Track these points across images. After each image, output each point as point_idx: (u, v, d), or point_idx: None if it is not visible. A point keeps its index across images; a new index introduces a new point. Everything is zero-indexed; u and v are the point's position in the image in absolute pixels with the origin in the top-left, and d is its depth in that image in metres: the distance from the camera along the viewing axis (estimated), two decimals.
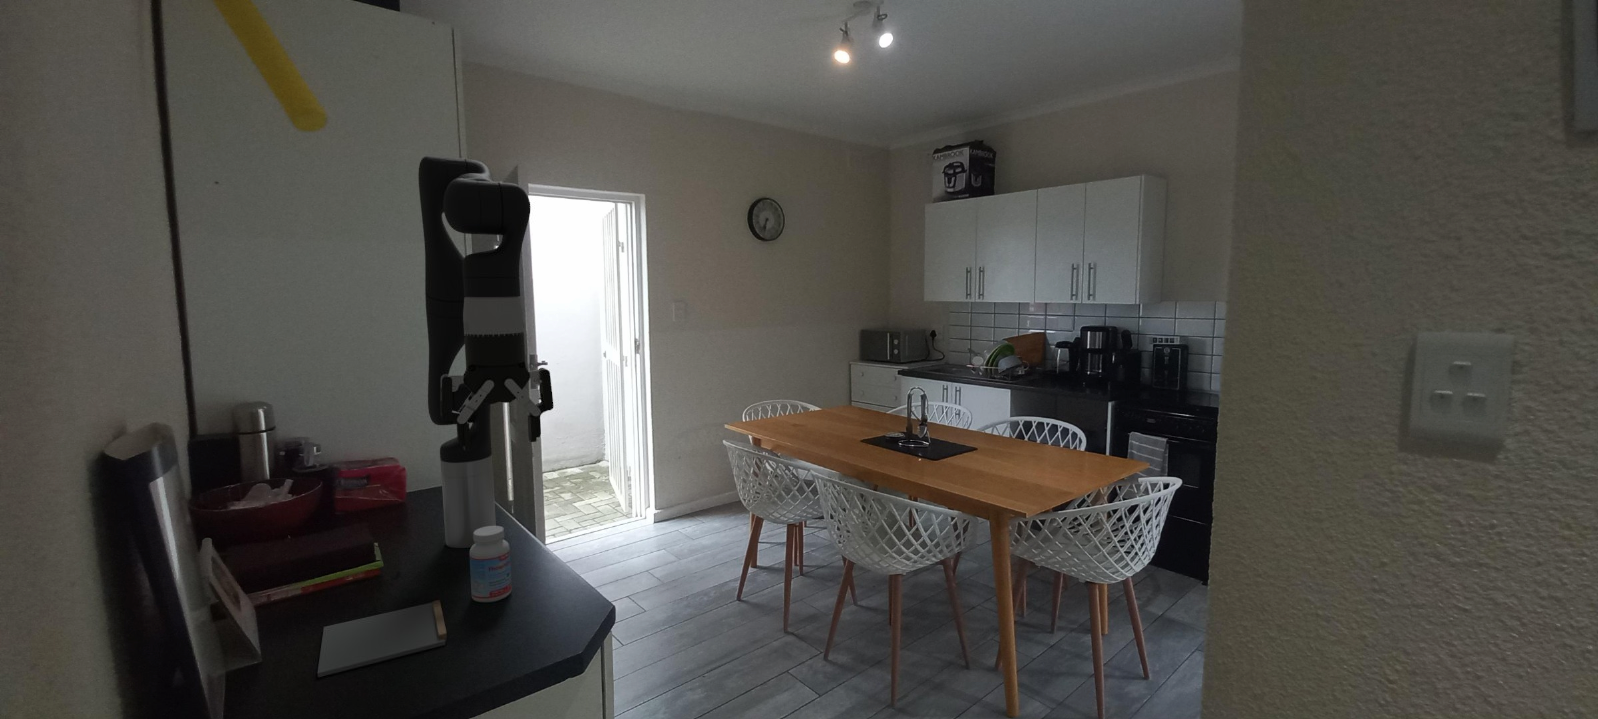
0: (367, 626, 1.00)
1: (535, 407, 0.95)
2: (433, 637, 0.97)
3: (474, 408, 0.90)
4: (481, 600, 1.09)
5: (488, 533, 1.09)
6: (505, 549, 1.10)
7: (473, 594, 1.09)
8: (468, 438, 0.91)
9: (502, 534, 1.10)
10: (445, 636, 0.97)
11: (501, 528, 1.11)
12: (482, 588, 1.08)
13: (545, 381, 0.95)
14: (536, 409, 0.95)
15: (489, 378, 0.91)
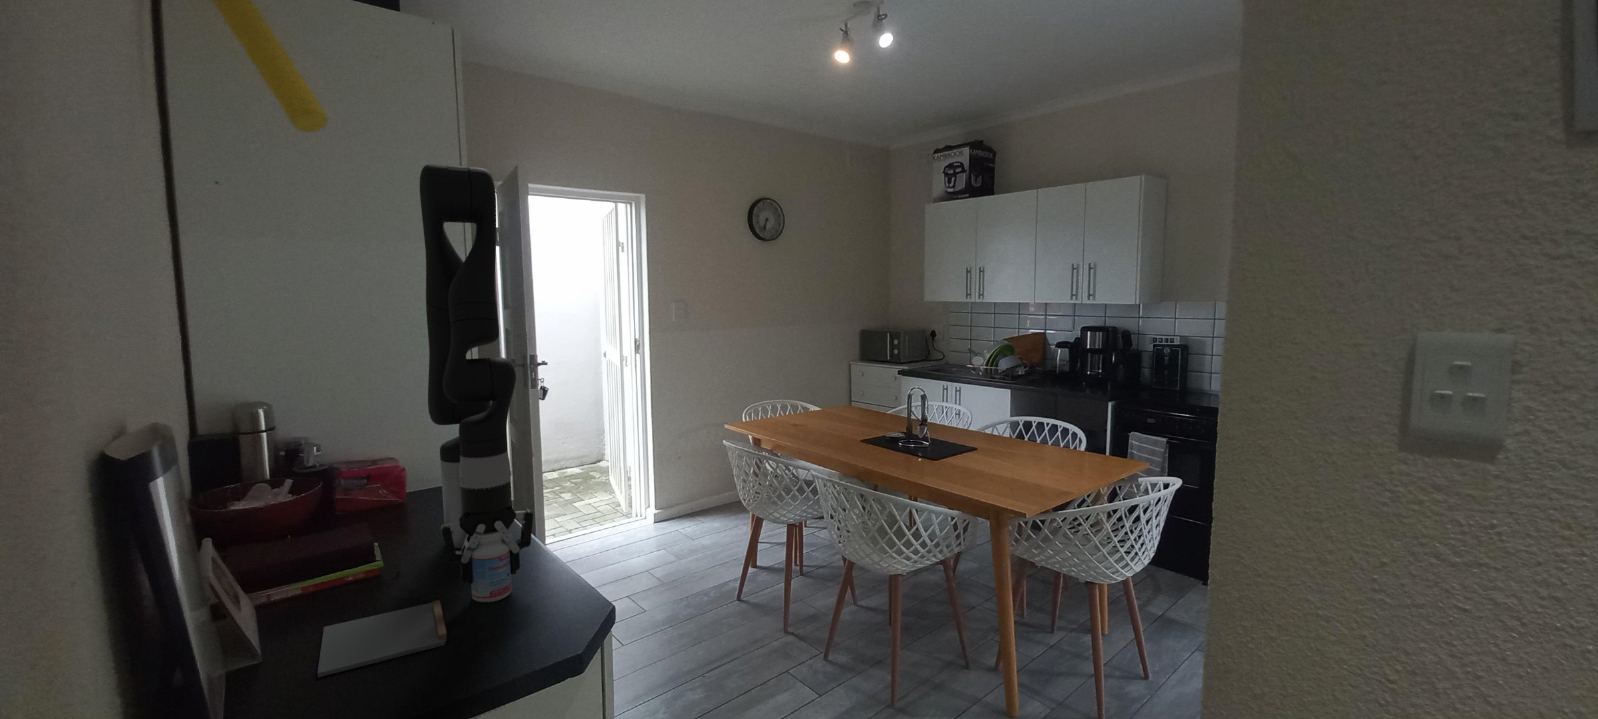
0: (367, 626, 1.00)
1: (515, 545, 1.12)
2: (433, 637, 0.97)
3: (473, 549, 1.08)
4: (481, 600, 1.09)
5: (488, 533, 1.09)
6: (505, 549, 1.10)
7: (473, 594, 1.09)
8: (470, 574, 1.08)
9: None
10: (445, 636, 0.97)
11: None
12: (483, 588, 1.08)
13: (527, 522, 1.12)
14: (515, 547, 1.12)
15: (480, 521, 1.08)
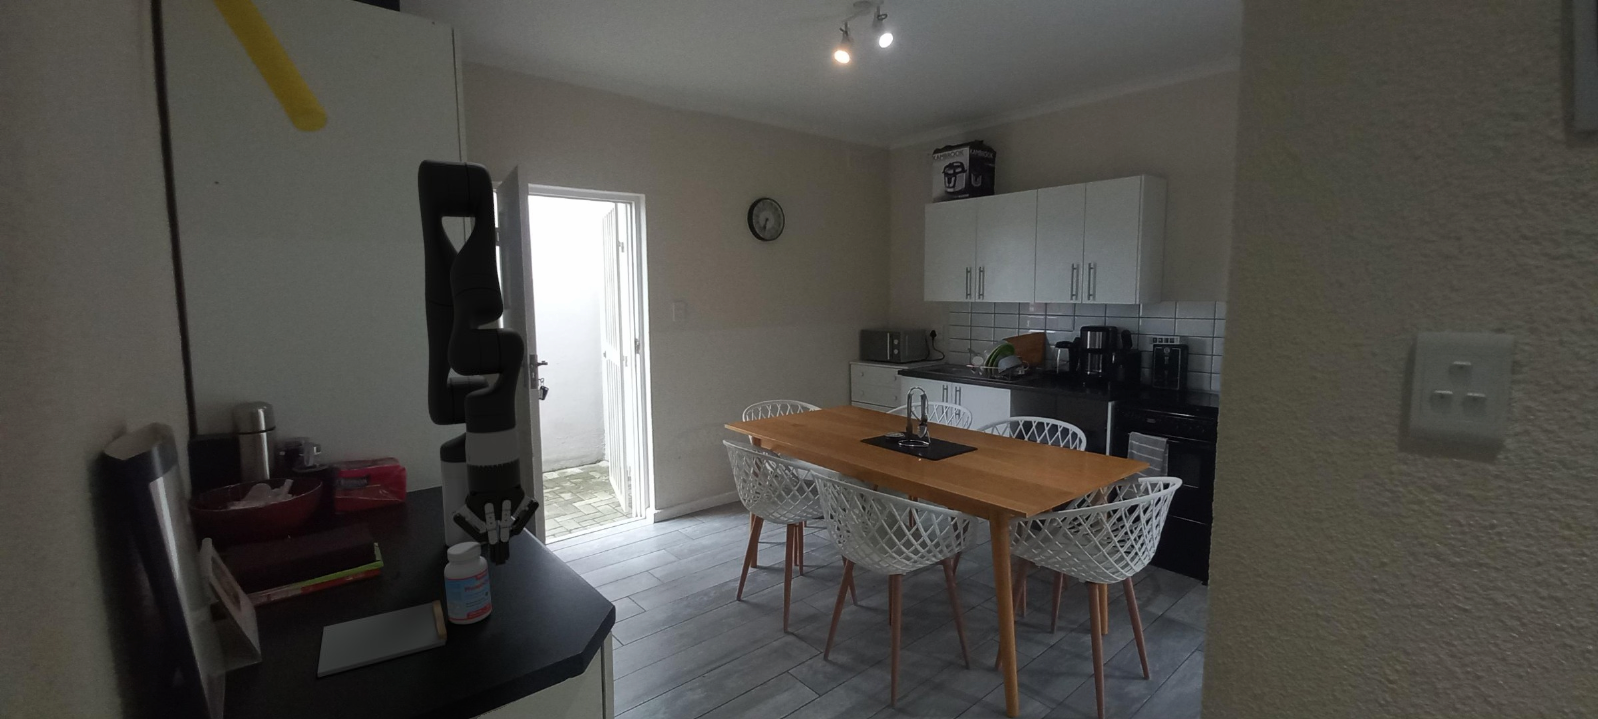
0: (367, 626, 1.00)
1: (507, 534, 1.05)
2: (433, 637, 0.97)
3: (494, 528, 1.03)
4: (458, 622, 1.02)
5: (463, 551, 1.02)
6: (481, 567, 1.03)
7: (450, 616, 1.02)
8: (498, 555, 1.05)
9: (478, 551, 1.03)
10: (445, 636, 0.97)
11: (477, 544, 1.04)
12: (459, 609, 1.01)
13: (530, 511, 1.07)
14: (505, 535, 1.05)
15: (485, 501, 1.03)
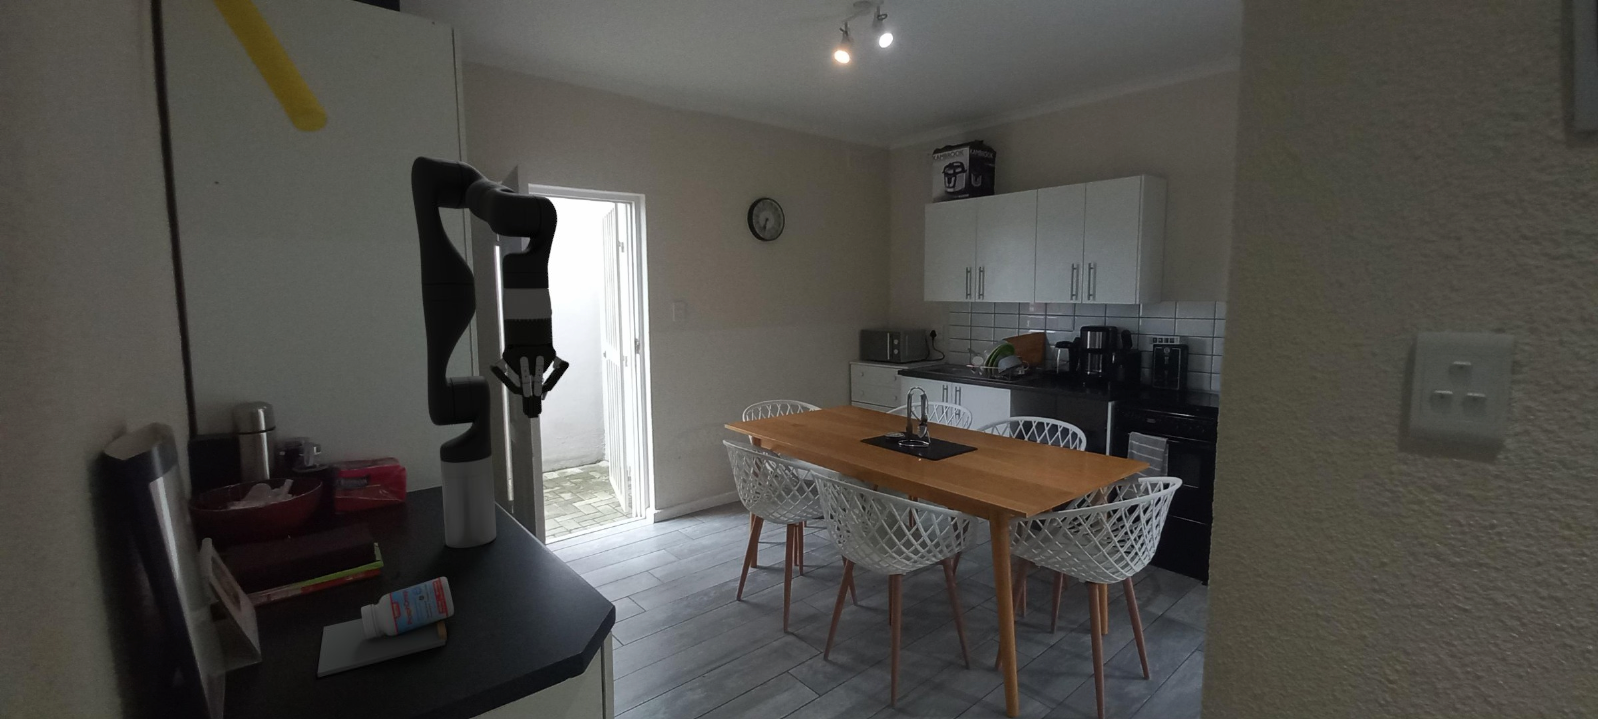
0: None
1: (540, 389, 1.13)
2: (433, 637, 0.97)
3: (528, 381, 1.12)
4: (450, 614, 1.01)
5: (365, 631, 0.95)
6: (387, 612, 0.95)
7: None
8: (532, 408, 1.13)
9: (367, 615, 0.95)
10: (445, 636, 0.97)
11: None
12: (435, 619, 0.99)
13: (561, 369, 1.15)
14: (538, 390, 1.13)
15: (520, 356, 1.11)
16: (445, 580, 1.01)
